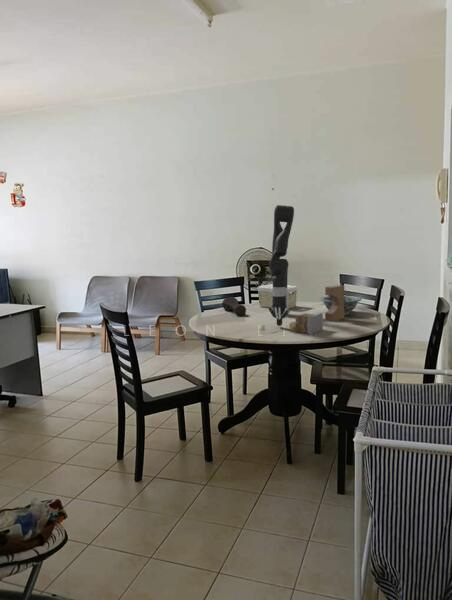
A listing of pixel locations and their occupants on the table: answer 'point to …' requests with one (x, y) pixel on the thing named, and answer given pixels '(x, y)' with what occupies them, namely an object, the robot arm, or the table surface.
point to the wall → (314, 323)
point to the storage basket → (266, 295)
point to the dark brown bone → (234, 306)
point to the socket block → (302, 322)
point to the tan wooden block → (293, 326)
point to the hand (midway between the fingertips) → (279, 325)
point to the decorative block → (335, 303)
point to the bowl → (349, 303)
